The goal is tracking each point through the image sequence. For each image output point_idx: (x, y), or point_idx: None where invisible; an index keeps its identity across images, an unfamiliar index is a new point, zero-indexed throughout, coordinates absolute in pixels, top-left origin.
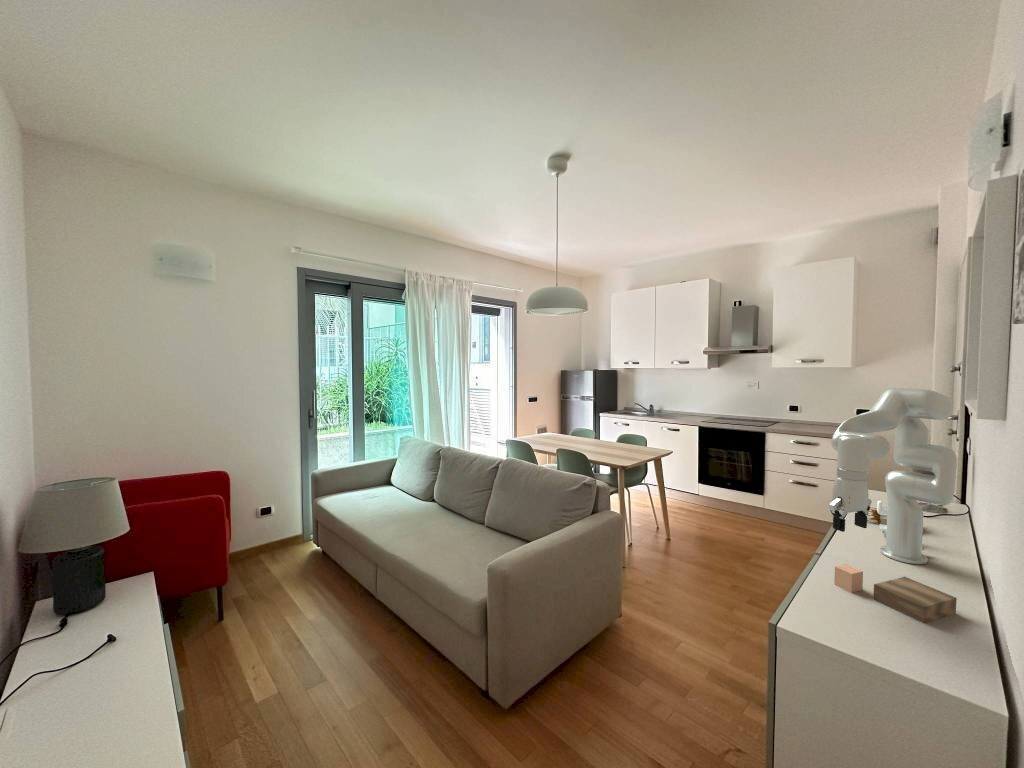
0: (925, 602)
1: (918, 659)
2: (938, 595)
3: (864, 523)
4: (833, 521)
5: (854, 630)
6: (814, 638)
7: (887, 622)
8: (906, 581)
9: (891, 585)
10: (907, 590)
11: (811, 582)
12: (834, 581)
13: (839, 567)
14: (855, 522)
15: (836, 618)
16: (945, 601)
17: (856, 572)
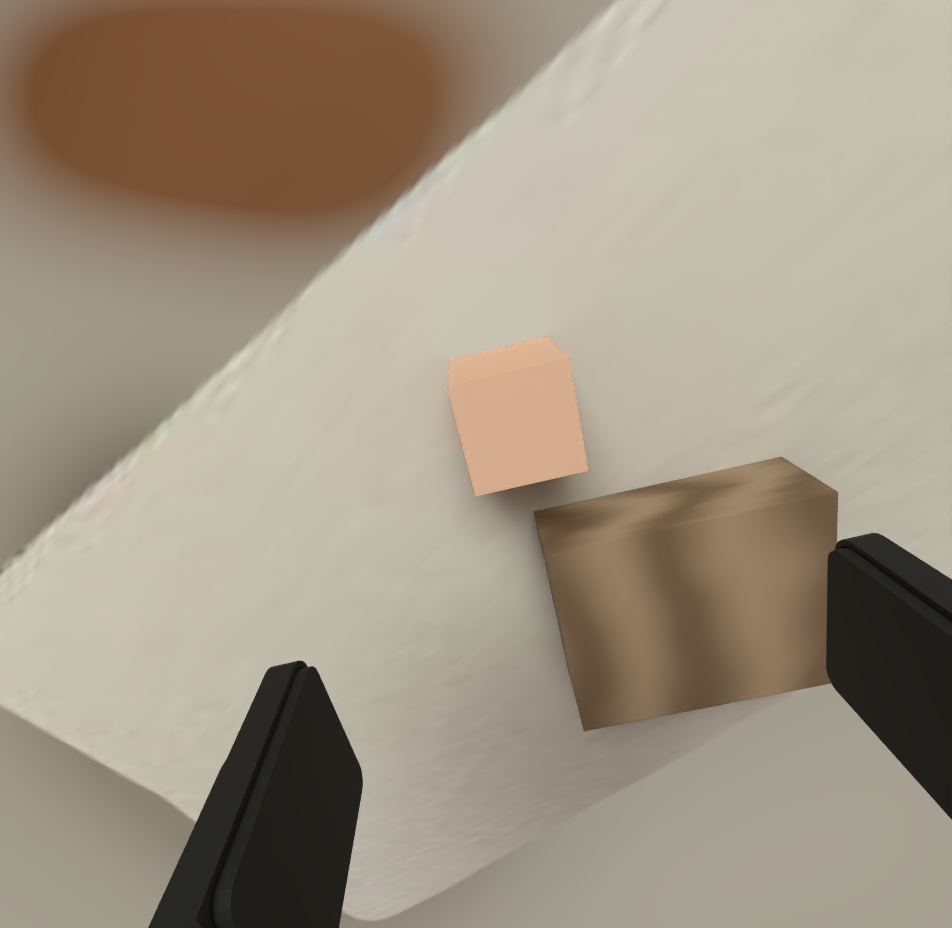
0: (632, 704)
1: None
2: (772, 662)
3: (890, 739)
4: (221, 783)
5: (239, 692)
6: (43, 721)
7: (423, 660)
8: (775, 541)
9: (635, 572)
10: (667, 618)
11: (318, 327)
12: (449, 363)
13: (466, 407)
14: (863, 588)
15: (219, 628)
16: (742, 698)
17: (526, 480)
